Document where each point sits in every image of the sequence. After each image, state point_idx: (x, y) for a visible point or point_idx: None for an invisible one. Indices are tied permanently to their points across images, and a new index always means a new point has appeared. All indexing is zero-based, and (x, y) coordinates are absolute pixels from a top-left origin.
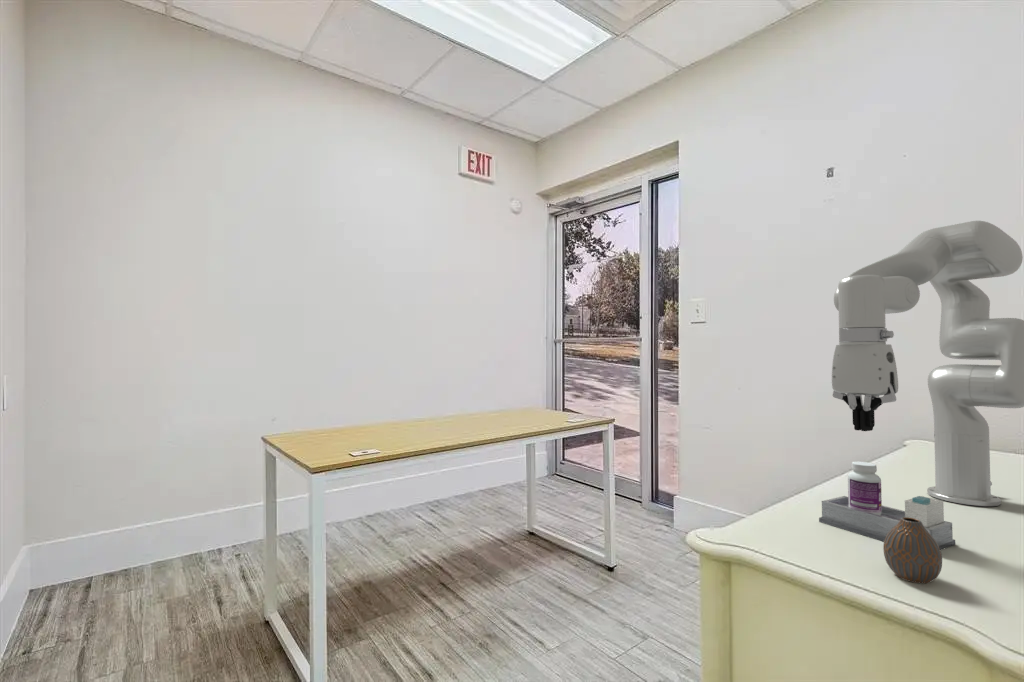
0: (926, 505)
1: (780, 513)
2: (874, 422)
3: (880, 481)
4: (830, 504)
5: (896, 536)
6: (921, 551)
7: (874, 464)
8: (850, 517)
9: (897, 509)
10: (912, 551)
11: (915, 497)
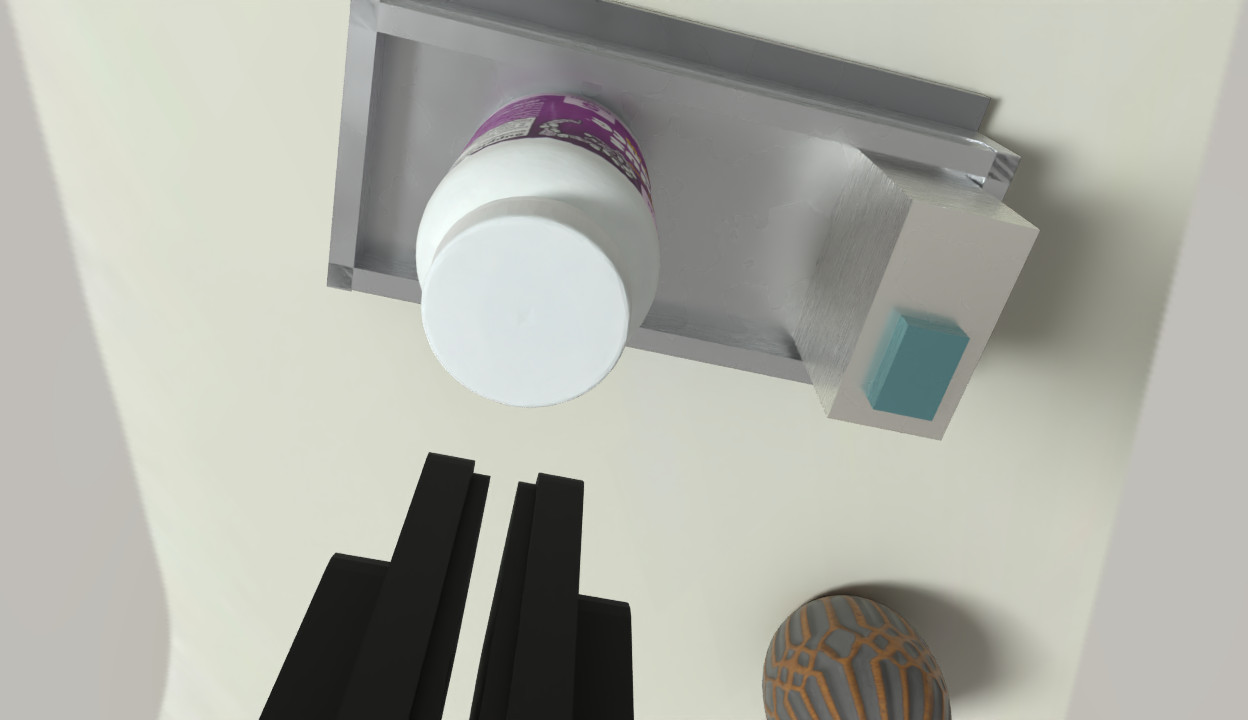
0: (939, 436)
1: (150, 284)
2: (631, 644)
3: (659, 267)
4: (387, 293)
5: None
6: None
7: (609, 286)
8: None
9: (726, 93)
10: None
11: (889, 385)
